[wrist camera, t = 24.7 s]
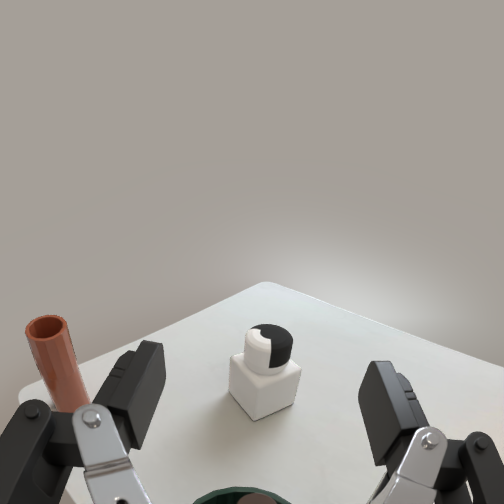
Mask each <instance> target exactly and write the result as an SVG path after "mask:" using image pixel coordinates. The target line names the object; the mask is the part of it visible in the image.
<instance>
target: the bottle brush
mask: <svg viewBox="0 0 504 504" xmlns="http://www.w3.org/2000/svg"><path fill="white" fill-rule="evenodd" d="M237 504H277V503H276V502H275V501H274V499H272V498H271V497H270V496H268V495H265V494H262V493H251V494H248V495H245V496H243V497H242V498H241V499H240V500H239V501H238V502H237Z"/></svg>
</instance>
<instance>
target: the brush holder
mask: <svg viewBox="0 0 504 504" xmlns="http://www.w3.org/2000/svg"><path fill="white" fill-rule="evenodd" d="M25 334H26V337H27V340H28V343H29V346H30V349H31V352H32V354H33V357H34V360H35V362H36V365H37V367H38V370H39V372H40V374H41V376H42V379H43V381H44V384H45V386H46V388H47V390H48V393H49V395H50V397H51V399H52V401H53V403H54V406H55V408H56V410H57V412H67V413H74V412H75V410H76V409H78V408H79V407H80V406H82V405H85V404H91V402H90V399H89V396H88V393H87V391H86V388H85V385H84V382H83V379H82V376H81V373H80V370H79V367H78V364H77V359H76V356H75V352H74V349H73V345H72V342H71V338H70V334H69V330H68V327H67V323H66V321H65V320H64V319H63V318H62V317H60V316H57V315H45V316H41V317H38V318H36V319H34V320H32V321H31V322H30V323H29V324H28V325H27V326H26V330H25Z"/></svg>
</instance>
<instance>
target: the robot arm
mask: <svg viewBox="0 0 504 504" xmlns="http://www.w3.org/2000/svg"><path fill="white" fill-rule="evenodd" d="M165 380H166V368H165V359H164V350H163V344H162V343H157V342H152V341H146V340H143V341H142V342H141V343H140V345H139V347H138V349H137V350H136V352H135V351H130V350H129V351H127V352H126V353H125V354H123V355H122V356H120V357H119V359H118V360H117V362H116V363H115V365H114V368H112V370H111V372H110V373H109V376H108V377H107V378H106V380H105V382H104V383H103V385H102V387H101V388H100V390H99V392H98V393H97V395H96V397H95V399H94V400H93V402H92V403H91V404H85V405H82V406H80V407H79V408H78V409H76V410H75V412H74V413H67V412H53V411H51V410H50V408H49V406H48V405H47V404H46V403H45V402H43V401H41V400H37V399H32V400H28V401H26V402H24V403H22V404H21V405H20V406H19V408H18V409H17V411H16V412H15V414H14V415H13V417H12V419H11V420H10V422H9V423H8V425H7V426H6V428H5V430H4V431H3V433H2V435H1V436H0V504H59V502H60V499H61V496H62V494H63V491H64V489H65V486H66V483H67V481H68V478H69V476H70V473H71V471H72V468H73V467H85V471H84V478H85V481H86V484H87V487H88V490H89V492H90V495H91V498H92V500H93V503H94V504H152V503H151V501H150V500H149V498H148V496H147V494H146V492H145V490H144V488H143V486H142V484H141V482H140V480H139V478H138V476H137V474H136V472H135V470H134V468H133V466H132V463H131V461H130V459H129V457H128V454H129V451H130V449H131V448H134V449H138V450H140V449H141V447H142V444H143V441H144V439H145V436H146V433H147V430H148V428H149V425H150V422H151V420H152V417H153V415H154V412H155V409H156V407H157V404H158V401H159V399H160V396H161V394H162V391H163V388H164V385H165ZM358 401H359V405H360V409H361V413H362V416H363V420H364V424H365V427H366V431H367V435H368V439H369V442H370V446H371V450H372V454H373V458H374V462H375V466H382V465H386V467H387V471H386V472H385V473H384V475H383V477H382V479H381V480H380V482H379V484H378V486H377V487H376V489H375V491H374V492H373V494H372V496H371V497H370V499H369V500H368V502H367V503H366V504H433V502H435V504H504V465H503V463H502V460H501V458H500V456H499V453H498V451H497V449H496V447H495V444H494V442H493V440H492V439H491V438H490V437H489V436H488V435H487V434H485V433H483V432H473V433H471V434H470V435H469V436H468V437H467V438H466V439H465V441H462V440H451V439H446V436H445V435H444V434H443V433H442V432H441V431H440V430H439V429H437V428H434V427H430V426H429V424H428V421H427V419H426V417H425V415H424V412H423V410H422V408H421V406H420V404H419V401H418V400H417V397H416V395H415V393H414V392H413V389H412V387H411V385H410V382H409V381H408V380H407V379H406V378H405V377H404V376H403V375H402V374H401V373H396V371H395V369H394V367H393V365H392V363H391V362H390V361H371V362H370V364H369V366H368V369H367V371H366V374H365V376H364V379H363V381H362V384H361V386H360V389H359V394H358ZM467 480H468V482H469V485H470V488H471V492H472V495H473V503H472V501H471V498H470V495H469V491H468V488H467V485H466V481H467Z"/></svg>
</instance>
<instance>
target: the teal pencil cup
mask: <svg viewBox="0 0 504 504" xmlns="http://www.w3.org/2000/svg"><path fill="white" fill-rule="evenodd" d="M251 493H262V494H265V495H268V496H270V497H271V498H272V499H274V501H275V502H276V503H277V504H291V503H290V502H288V501H286V500H285V499H283V498H281V497H280V496H278V495H277V494H275V493H272V492H269V491H265V490H262V489H258V488H254V487H230V488H225V489H220V490H215V491H212V492H210V493H209V494H207V495H205V496H203V497H201V498H199V499H197V500H196V501H195V502H194V503H193V504H237V502H238V501H239V500H240V499H241V498H242V497H243V496H245V495H248V494H251Z"/></svg>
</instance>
